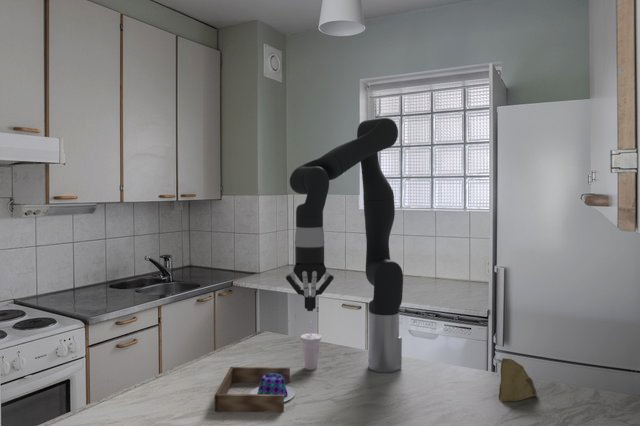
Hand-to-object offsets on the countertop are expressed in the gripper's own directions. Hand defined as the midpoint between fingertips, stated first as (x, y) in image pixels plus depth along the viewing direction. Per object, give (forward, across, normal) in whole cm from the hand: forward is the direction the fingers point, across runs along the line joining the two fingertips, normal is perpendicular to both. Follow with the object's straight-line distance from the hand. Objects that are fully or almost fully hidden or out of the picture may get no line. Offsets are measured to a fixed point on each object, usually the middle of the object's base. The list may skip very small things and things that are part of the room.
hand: (310, 310), depth 124 cm
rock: (+24, -54, 0) cm, 59 cm away
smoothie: (+23, +1, -20) cm, 30 cm away
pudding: (+23, +10, 0) cm, 25 cm away
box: (+23, +14, 0) cm, 27 cm away
